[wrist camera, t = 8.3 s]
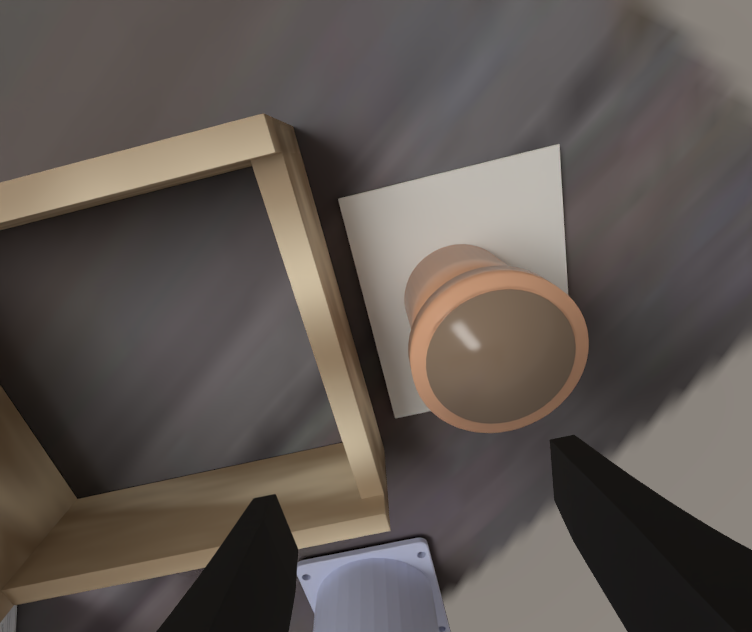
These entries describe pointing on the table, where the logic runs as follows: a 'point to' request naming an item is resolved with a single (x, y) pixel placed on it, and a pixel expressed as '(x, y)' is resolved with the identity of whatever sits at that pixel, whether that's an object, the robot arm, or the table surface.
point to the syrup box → (9, 621)
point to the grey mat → (451, 240)
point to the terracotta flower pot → (490, 340)
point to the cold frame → (216, 487)
